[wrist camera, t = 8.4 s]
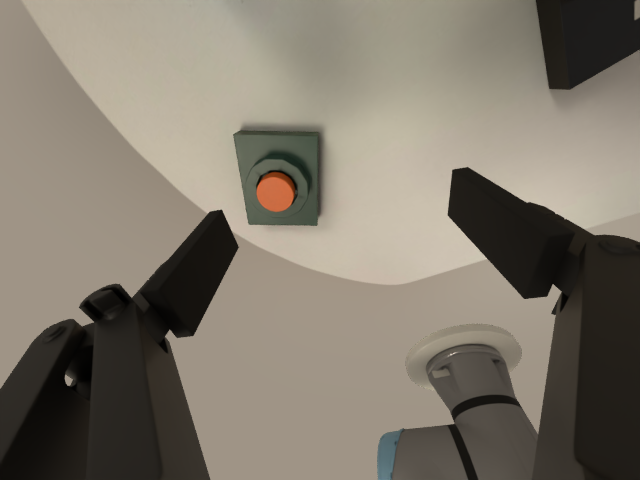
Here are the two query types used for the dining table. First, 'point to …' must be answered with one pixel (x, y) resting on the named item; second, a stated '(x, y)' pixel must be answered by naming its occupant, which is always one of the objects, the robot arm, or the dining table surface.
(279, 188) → the alarm button
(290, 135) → the alarm box
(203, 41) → the dining table surface
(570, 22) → the plate
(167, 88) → the dining table surface
